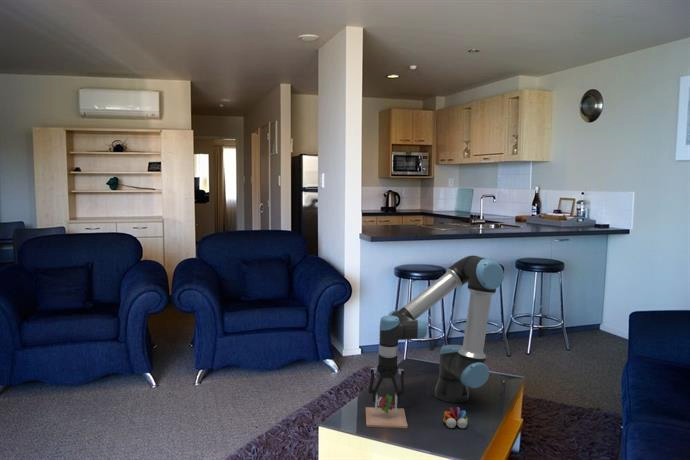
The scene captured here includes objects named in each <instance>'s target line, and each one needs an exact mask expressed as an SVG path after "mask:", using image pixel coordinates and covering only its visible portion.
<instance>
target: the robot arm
mask: <svg viewBox="0 0 690 460" xmlns="http://www.w3.org/2000/svg"><path fill="white" fill-rule="evenodd" d="M504 277H505V276H504V269H503V268H502V266H501V265H500V264H499V263H498V262H497V261H495V260H492V259H490V258H486V257H481V256H478V255H468V256H464V257H463V258H461V259H459V260H457V261H456V262H454V263H453V264H452V265H450V267H448V268H447V269H446V272H445V273H444V274H443V275H442V276H440V277H439V278H438V279H437V280H435V281H434V282H433V283H432V284H430V285H429V286H428V287H427V288H426V289H424V290H423V291H421V293H419V294H418V295H417V296H416V297H414V298H413V299H412V300H411V301H409V302H407V304H405V305H404V306H403V307H401V308H400V309H399V310H395V309H394V310H392V311H390V312H389V313H388V314H387V315H384V316H382V317H380V322H379V342H378V343H379V344H378V360H377V361H378V365H377V366H376V367H370V373H371V374H370V379H369V385H368V393H369V394H371V395H372V403H374V408H375V411H377V408H378V404H377V402H378V399H379V395H378V391H379V388H380V386H381V384H382V382H383V380H384V379H391V382H392V385H393V386H394V389H395V392H396V393H394V399H395V401H394V403H395V404H393V406H394V407H393V408H394V410H395V412H397V408H398V404H400V402H401V396H402V395H405V394H406V392H405V380H404V376H405V369H404V368H398V355H399V353H398V352H399V351H398V350H399V341H405V340H406V341H407V340H421V339H424V338H426V337H427V334H428V326H427V323H426V321H425V320H424V319H418V318H420V317H421V316H422V315H423V314H424V313H426V312H427V311H428V310H430V309H431V308H432V307H433V306H435V305H436V304H437V303H438V302H439V301H440V302H441V300H442V299H444V298H445V297H446V296H447V295H449V294H450V293H451V292H452V291H454V290H455V289H457V287H460V288H461V287H462V286H464V285H465V284H467V290H468V291H469V292H470V295H469V301H468V308H467V315H466V322H465V328H464V334H463V335H464V336H463V342H462V345H461V344H445V345H443V346H441V348H440V353H439V375H438V377H439V378H438V380H437V383H436V384H435V387H434V396H435V398H437V399H439V400H441V401H444V402H446V403H447V402H448V403H464V402H466V401H468V400H469V398H470V397H469V396H470V392H469V389H470V388H471V389H477V388H481V387H482V386H483V385H485V384H486V383H487V381H488V379H489V378H490V377H489V376H490V369H489V367H488V365H487V364H486V359H487V355H486V354H485V352H484V347H485V341H486V336H487V335H486V334H487V328H488V320H489V314H490V308H491V301H492V296H493V295H495V294H496V292H497V289H498V288H499V287H500V286H501V285H502V283H503V281H504V279H505V278H504ZM377 372H378V374H379V376H378V378H377V381H376V383H375V386H374V380H375V374H377ZM397 373H398V375H399V379H400V380H399V381H400V389H399V386H398V384H397V383H398V382H397V380H396V377H395V375H396V374H397ZM373 386H374V388H373ZM395 407H396V408H395Z"/></svg>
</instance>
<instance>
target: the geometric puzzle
mask: <svg viewBox="0 0 690 460" xmlns="http://www.w3.org/2000/svg"><path fill="white" fill-rule="evenodd" d="M394 404H395V398H394V397H393V396H392V395H390V394H388V393H386V394H384V396H383V395H382V396H378V402H377V407H378V408H380V409H381V408H382V409H381V410H383V411H384V412H386V413H387V412H388V410H389V409H390V411H391V410H393V409H392V408H394ZM395 408H396V407H395Z"/></svg>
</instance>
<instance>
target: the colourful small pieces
mask: <svg viewBox="0 0 690 460" xmlns="http://www.w3.org/2000/svg"><path fill="white" fill-rule="evenodd" d="M449 410H450V411H447V410H446V411H444V413H443V414H444V415H443V421H442V422H443V423H445V424H446V426H447V427H448V428H450V429H453V428H455V427H456V426H457V427H458V428H460V429H465V428H467V426H468V421H469V419H468V417H467V416H466V415H467V412H466V410H461V409H460V407H458V406H457V407H455V409H453V407H449Z"/></svg>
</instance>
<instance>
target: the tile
mask: <svg viewBox="0 0 690 460" xmlns="http://www.w3.org/2000/svg"><path fill="white" fill-rule="evenodd" d="M380 408H381V409H382V407H377V411H375V407H372V406H371V407H370V406H368V407H367V406H365V423H366V427H368V428H369V427H370V428H371V427H372V428H374V427H375V428H391V429H392V428H396V429H397V428H398V429H408V427H409V426H408V423H407V418H406V413H405V408H402V407H401V408H398V407H397V412H395V410H394V407H392V409H393V410H391V411H390V409H389V410H388V412H387V413H386V412H384V411H383V410H381V409H380Z"/></svg>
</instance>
